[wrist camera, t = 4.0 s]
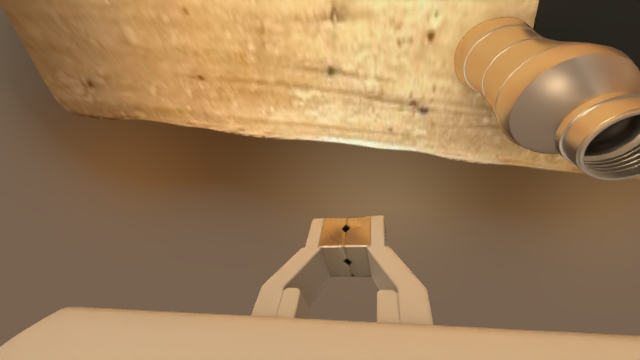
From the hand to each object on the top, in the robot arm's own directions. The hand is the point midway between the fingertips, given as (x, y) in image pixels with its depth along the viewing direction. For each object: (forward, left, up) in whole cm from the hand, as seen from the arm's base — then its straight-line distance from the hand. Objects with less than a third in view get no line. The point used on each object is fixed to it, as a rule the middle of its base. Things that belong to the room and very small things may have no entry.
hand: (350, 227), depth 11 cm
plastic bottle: (-12, 0, -24) cm, 27 cm away
